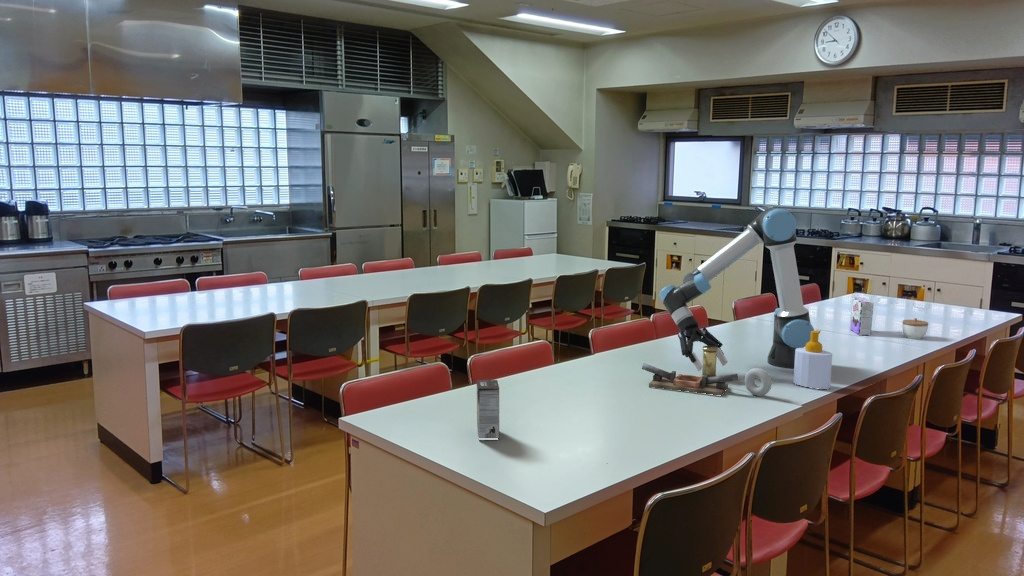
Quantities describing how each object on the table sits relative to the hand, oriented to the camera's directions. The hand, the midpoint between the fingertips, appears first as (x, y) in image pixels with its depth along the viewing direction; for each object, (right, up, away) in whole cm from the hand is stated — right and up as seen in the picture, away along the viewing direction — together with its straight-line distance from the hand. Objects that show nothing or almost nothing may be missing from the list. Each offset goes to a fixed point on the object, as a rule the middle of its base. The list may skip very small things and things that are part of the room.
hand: (713, 366), depth 282 cm
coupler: (-1, -5, +2) cm, 5 cm away
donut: (+10, -8, -20) cm, 24 cm away
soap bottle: (+34, -6, -8) cm, 35 cm away
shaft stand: (-12, -7, -10) cm, 17 cm away
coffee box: (-83, -15, -59) cm, 103 cm away
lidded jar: (+113, +6, +70) cm, 133 cm away
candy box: (+93, +8, +81) cm, 124 cm away
